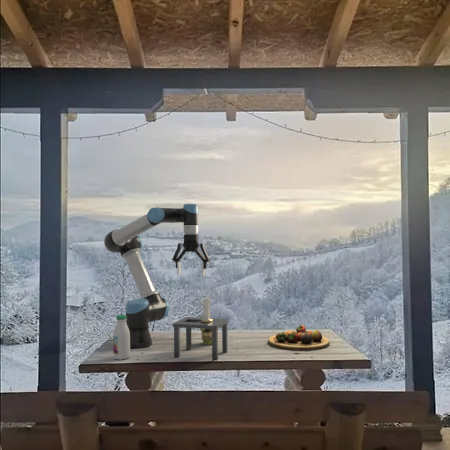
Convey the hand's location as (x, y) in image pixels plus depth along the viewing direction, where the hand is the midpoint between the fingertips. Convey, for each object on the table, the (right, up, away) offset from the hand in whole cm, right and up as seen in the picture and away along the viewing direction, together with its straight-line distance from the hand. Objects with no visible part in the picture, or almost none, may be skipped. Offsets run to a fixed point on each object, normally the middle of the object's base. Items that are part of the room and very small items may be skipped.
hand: (191, 275), depth 254 cm
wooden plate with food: (+56, -37, +4) cm, 67 cm away
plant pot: (+9, -37, +5) cm, 38 cm away
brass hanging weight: (+9, -29, -18) cm, 35 cm away
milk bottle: (-31, -37, -22) cm, 53 cm away
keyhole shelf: (+6, -37, -18) cm, 41 cm away
